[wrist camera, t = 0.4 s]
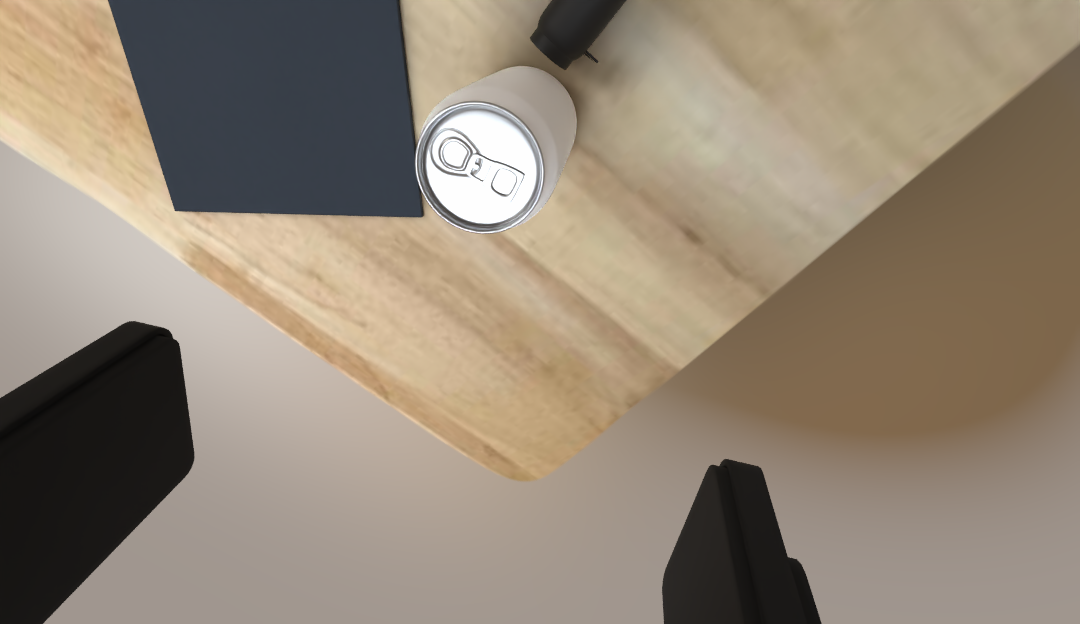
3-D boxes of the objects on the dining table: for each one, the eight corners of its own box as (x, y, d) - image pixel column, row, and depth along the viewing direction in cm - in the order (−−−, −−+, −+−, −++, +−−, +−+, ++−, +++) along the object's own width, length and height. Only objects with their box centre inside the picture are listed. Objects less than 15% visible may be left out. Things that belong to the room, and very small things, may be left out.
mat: (67, -144, 32) (61, -145, 31) (380, -164, 29) (377, -166, 29) (178, 209, 41) (174, 211, 41) (423, 215, 39) (422, 217, 38)
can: (499, 43, 33) (438, 58, 23) (597, 99, 34) (583, 140, 23) (455, 144, 36) (383, 199, 26) (547, 194, 37) (513, 268, 26)
